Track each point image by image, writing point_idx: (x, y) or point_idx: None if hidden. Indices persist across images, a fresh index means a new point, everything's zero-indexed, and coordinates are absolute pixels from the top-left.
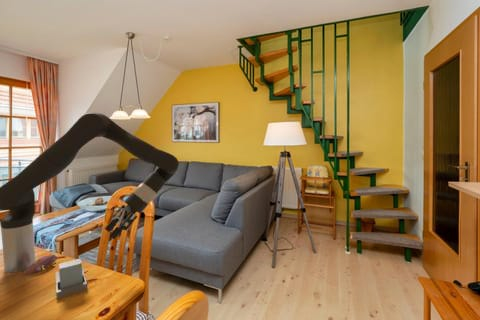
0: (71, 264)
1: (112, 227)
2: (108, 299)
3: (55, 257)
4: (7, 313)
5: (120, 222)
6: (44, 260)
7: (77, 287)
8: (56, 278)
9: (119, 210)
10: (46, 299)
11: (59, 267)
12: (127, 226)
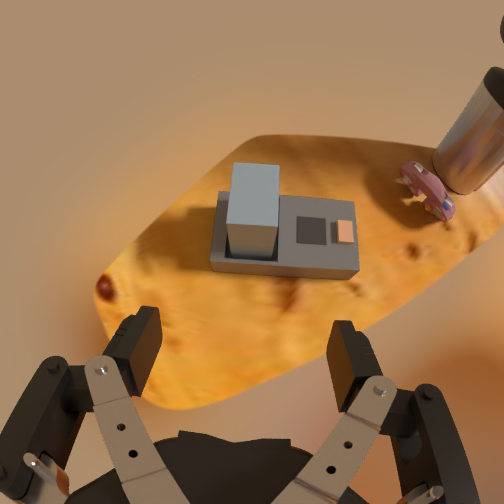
0: (241, 194)
1: (333, 374)
2: None
3: (443, 214)
4: (257, 137)
5: (100, 392)
6: (424, 184)
7: (212, 237)
8: (308, 198)
9: (435, 468)
10: None
11: (245, 163)
12: (57, 413)
